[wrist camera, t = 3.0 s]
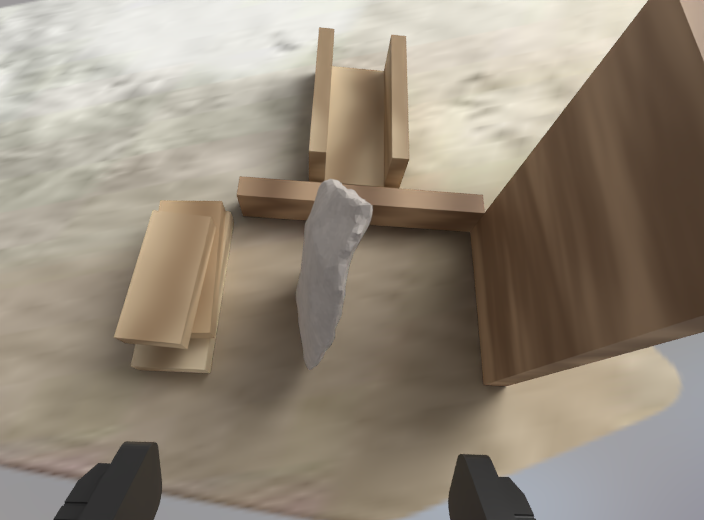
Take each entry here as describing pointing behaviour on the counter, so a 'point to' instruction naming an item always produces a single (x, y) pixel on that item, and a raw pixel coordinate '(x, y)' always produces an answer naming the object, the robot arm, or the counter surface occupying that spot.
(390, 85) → the holder
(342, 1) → the counter surface
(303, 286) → the stone tool
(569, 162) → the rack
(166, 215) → the offcut stack
